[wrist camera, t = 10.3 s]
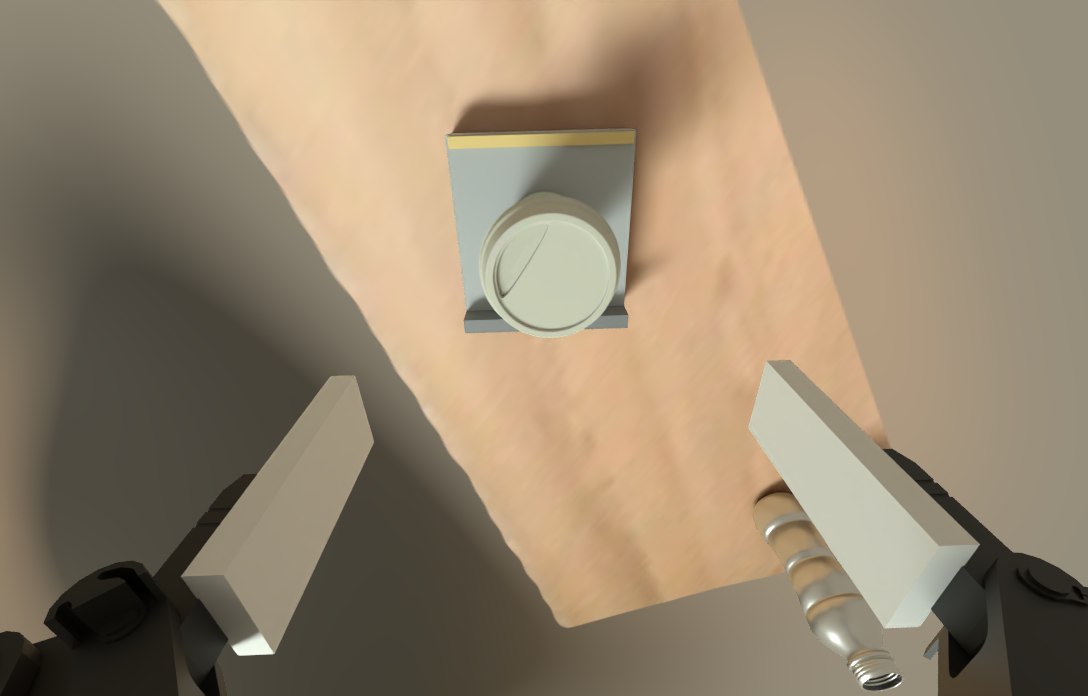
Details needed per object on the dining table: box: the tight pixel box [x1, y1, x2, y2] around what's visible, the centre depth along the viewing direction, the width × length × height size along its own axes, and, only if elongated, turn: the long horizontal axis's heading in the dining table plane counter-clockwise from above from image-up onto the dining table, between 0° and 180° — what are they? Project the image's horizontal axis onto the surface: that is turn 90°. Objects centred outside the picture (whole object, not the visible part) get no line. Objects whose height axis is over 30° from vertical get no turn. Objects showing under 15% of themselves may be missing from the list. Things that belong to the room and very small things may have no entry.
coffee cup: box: [479, 191, 621, 338], centre depth 29 cm, size 8×8×12 cm
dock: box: [445, 128, 637, 333], centre depth 35 cm, size 15×14×5 cm
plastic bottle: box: [753, 492, 904, 692], centre depth 47 cm, size 6×7×20 cm
